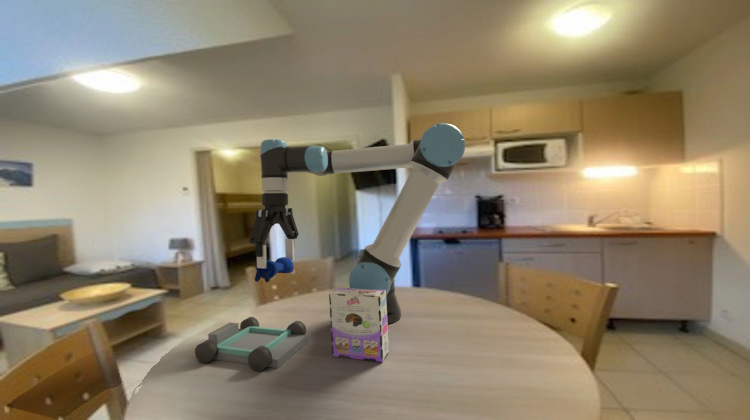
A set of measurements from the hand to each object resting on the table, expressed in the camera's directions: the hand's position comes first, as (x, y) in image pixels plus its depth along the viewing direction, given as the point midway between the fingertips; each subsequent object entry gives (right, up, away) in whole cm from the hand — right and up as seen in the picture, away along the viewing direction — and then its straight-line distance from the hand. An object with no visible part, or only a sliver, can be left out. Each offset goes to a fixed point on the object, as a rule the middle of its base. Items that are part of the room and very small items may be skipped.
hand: (276, 263), depth 98 cm
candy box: (+26, -21, -15) cm, 37 cm away
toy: (0, -4, 0) cm, 4 cm away
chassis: (-3, -22, -10) cm, 24 cm away
